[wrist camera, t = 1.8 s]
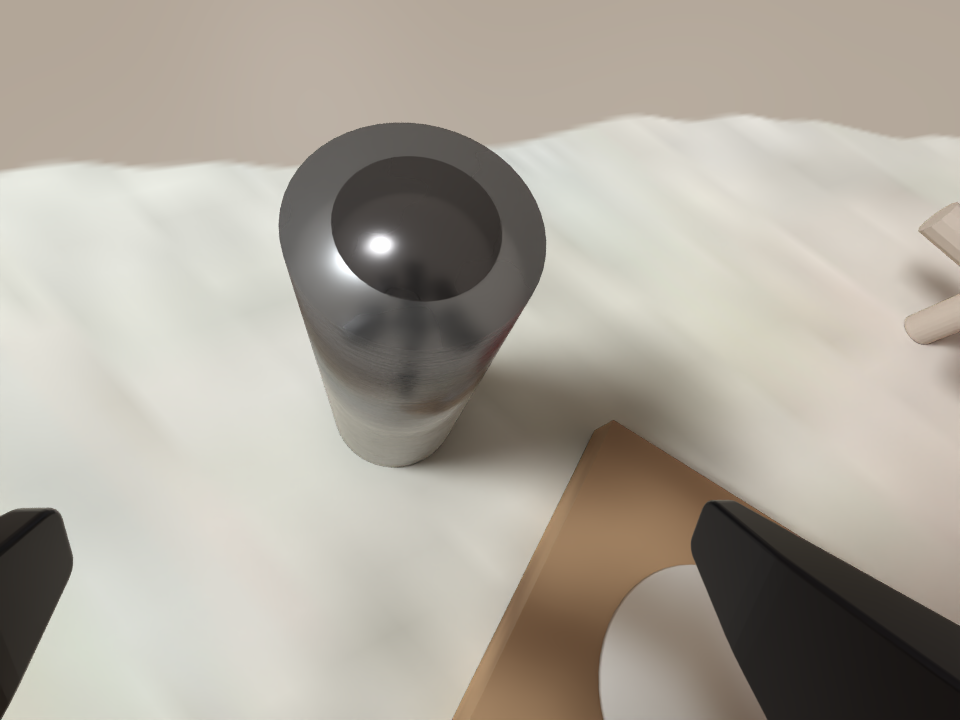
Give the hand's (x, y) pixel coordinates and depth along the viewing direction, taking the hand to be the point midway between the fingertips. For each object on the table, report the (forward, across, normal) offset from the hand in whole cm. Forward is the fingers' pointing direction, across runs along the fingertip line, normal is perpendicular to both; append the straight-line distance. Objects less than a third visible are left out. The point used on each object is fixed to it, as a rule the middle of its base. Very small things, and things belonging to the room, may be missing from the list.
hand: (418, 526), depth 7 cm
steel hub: (+13, 0, +6) cm, 14 cm away
